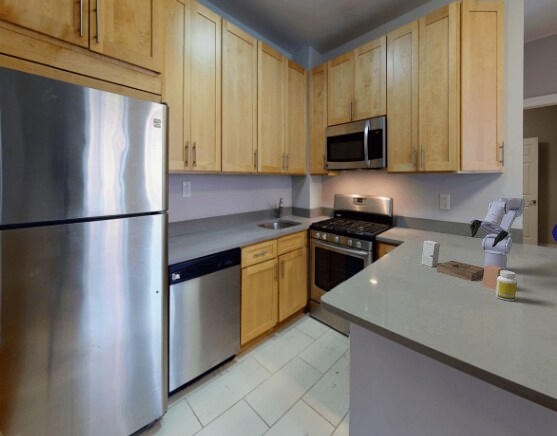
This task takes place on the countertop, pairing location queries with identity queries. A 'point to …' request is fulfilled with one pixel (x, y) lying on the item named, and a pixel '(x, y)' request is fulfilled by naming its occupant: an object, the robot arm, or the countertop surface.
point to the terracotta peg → (491, 276)
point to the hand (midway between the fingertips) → (483, 240)
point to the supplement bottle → (506, 286)
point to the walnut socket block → (461, 270)
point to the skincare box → (430, 253)
